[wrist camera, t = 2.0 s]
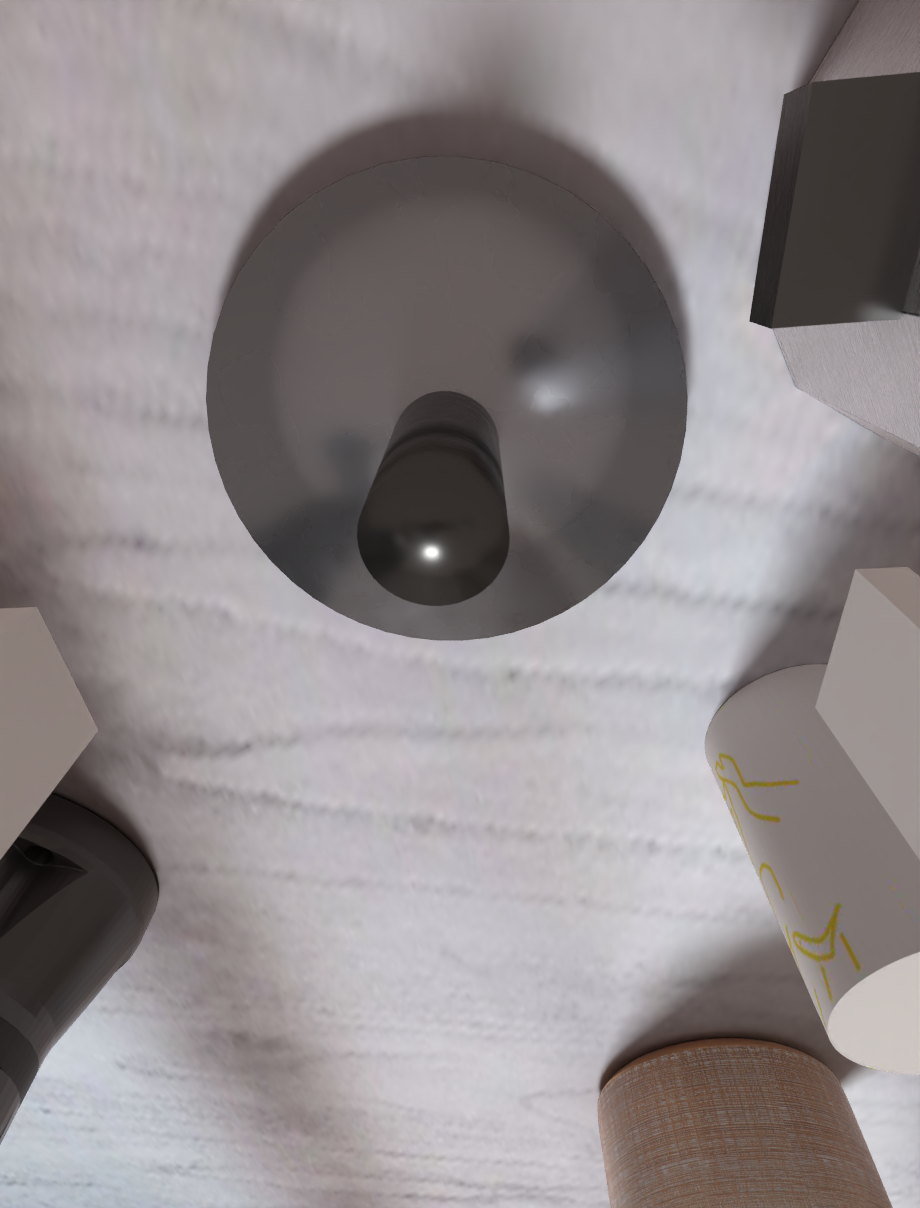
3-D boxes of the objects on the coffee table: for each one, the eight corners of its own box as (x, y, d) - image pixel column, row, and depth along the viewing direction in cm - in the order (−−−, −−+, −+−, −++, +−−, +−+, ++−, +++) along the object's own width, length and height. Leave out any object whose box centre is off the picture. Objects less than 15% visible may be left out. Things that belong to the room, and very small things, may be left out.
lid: (278, 629, 27) (200, 790, 19) (160, 185, 19) (-60, 156, 11) (653, 610, 26) (728, 771, 18) (702, 136, 18) (875, 67, 10)
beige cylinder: (687, 698, 28) (810, 969, 18) (879, 639, 26) (1140, 904, 16) (724, 812, 32) (843, 1090, 22) (894, 768, 30) (1113, 1049, 20)
